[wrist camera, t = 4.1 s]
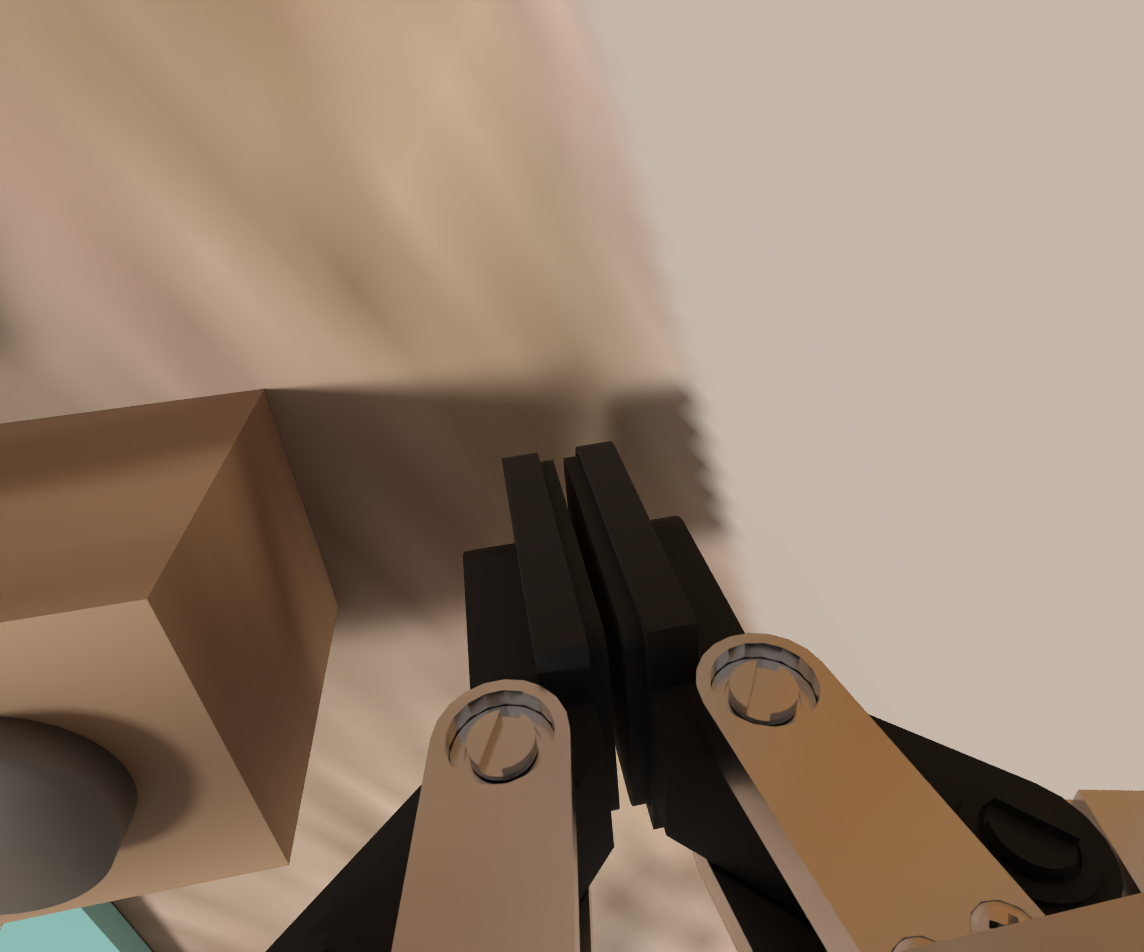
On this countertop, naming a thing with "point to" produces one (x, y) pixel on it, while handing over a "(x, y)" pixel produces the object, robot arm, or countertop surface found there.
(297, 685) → the wooden knob block
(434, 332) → the countertop surface
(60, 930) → the pad
